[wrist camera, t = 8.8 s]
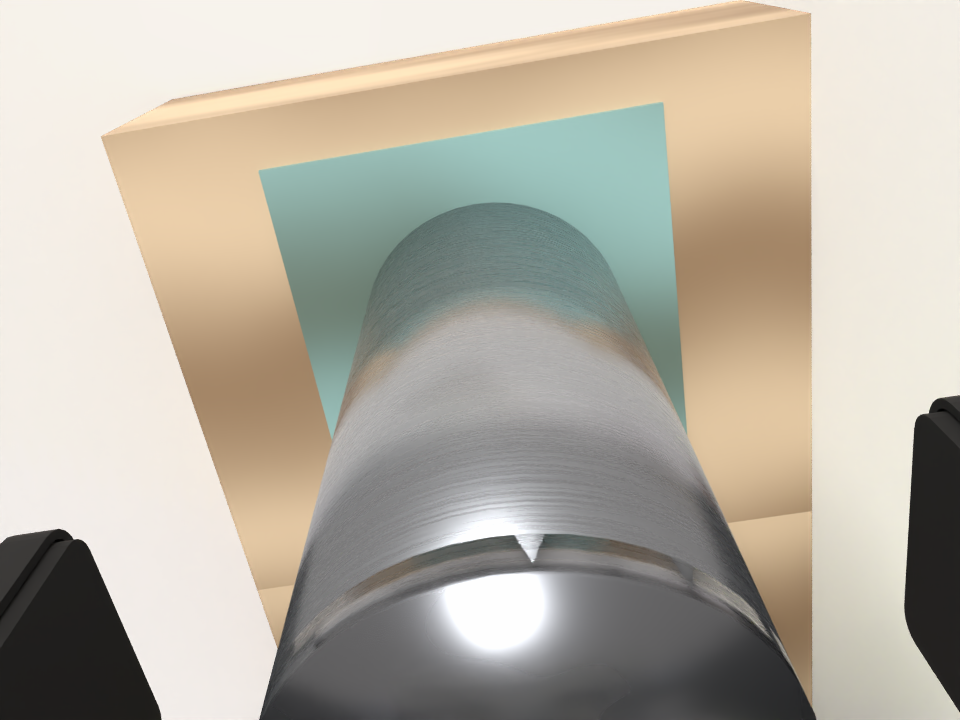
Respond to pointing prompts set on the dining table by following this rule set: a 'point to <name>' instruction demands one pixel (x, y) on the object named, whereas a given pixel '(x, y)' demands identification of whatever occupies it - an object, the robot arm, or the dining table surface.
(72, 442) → the dining table surface
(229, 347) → the housing
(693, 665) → the grey cylinder
